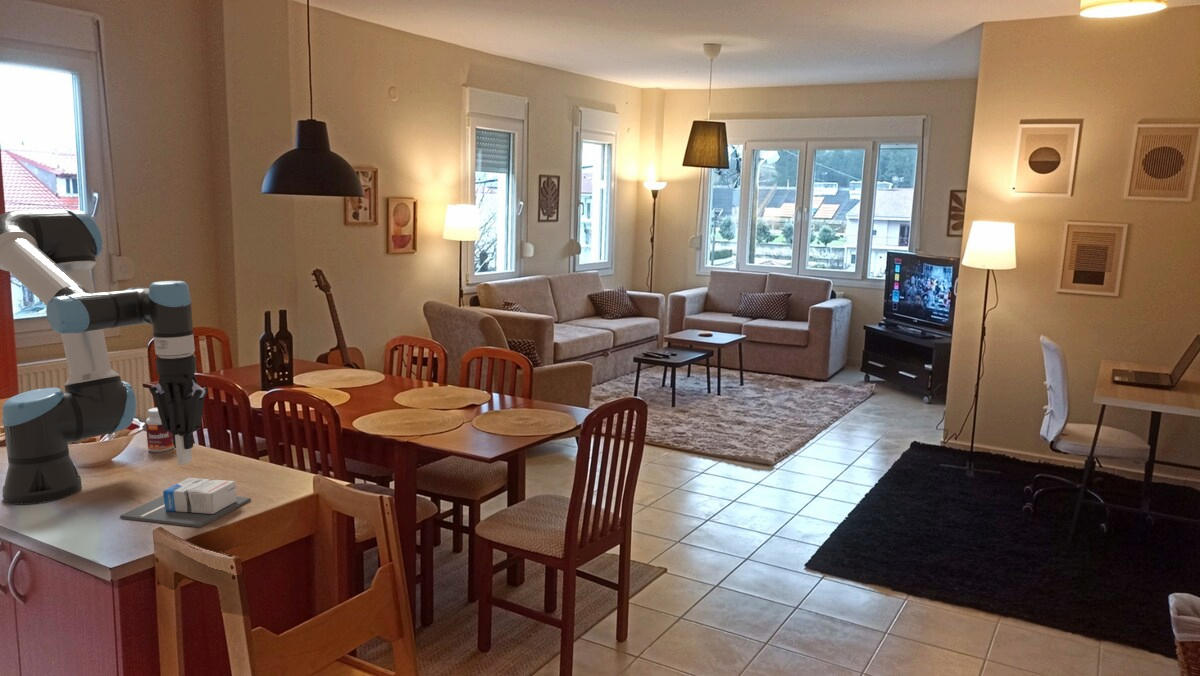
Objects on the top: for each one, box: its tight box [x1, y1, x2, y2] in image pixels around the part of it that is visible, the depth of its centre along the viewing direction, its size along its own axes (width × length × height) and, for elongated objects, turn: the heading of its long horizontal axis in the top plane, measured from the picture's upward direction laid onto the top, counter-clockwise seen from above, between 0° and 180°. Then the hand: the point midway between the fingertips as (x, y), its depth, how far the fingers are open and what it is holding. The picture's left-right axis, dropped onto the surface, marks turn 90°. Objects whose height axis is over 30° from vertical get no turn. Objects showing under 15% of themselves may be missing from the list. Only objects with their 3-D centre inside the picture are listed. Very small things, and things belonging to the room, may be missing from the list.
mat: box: [119, 494, 252, 528], centre depth 186 cm, size 20×16×1 cm
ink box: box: [162, 477, 237, 514], centre depth 185 cm, size 9×5×12 cm
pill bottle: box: [145, 407, 174, 453], centre depth 228 cm, size 6×6×11 cm
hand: (185, 462), depth 184 cm, fingers closed
